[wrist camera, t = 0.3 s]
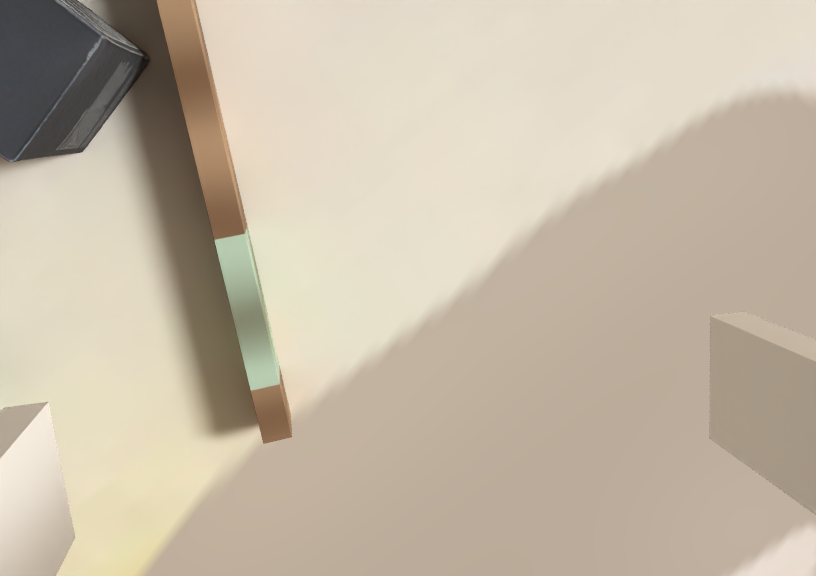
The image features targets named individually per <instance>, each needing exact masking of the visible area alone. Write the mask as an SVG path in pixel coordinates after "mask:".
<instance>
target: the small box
mask: <svg viewBox="0 0 816 576" xmlns="http://www.w3.org/2000/svg"><path fill="white" fill-rule="evenodd" d="M149 61H150V60H149V56H148V55H147V54H146V53H145V52H143V51H142V50H141V49H139V48H138V47H137V46H136V45H134V44H133V43H132V42H131V41H129V40H128V39H127V38H126V37H124V36H123V35H122V34H120V33H119V32H118V31H116V30H115V29H114V28H112V27H111V26H110V25H109V24H107V23H106V22H105V21H103V20H102V19H101V18H100V17H98V16H97V15H96V14H94V13H93V12H92V10H90V9H88V8H87V7H86V6H84V5H83V4H82V3H80V2H79V1H77V0H0V156H1V157H3V158H4V159H6V160H7V161H9V162H15V161H20V160H27V159H33V158H40V157H47V156H55V155H62V154H71V153H80V152H83V151H84V149H85V148H86V147H87V146H88V144H89V143H90V142H91V140H92V139H93V138H94V137H95V135H96V134H97V132H98V131H99V130H100V129H101V127H102V126H103V124H104V123H105V122H106V120H107V119H108V118H109V116H110V115H111V114H112V112H113V111H114V110H115V108H116V107H117V106H118V104H119V103H120V101H121V100H122V99H123V97H124V96H125V95H126V93H127V92H128V90H129V89H130V88H131V86H132V85H133V84H134V83H135V81H136V80H137V78H138V77H139V76H140V74H141V73H142V72H143V70H144V69H145V68H146V66H147V65H148V63H149Z"/></svg>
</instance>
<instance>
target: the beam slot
mask: <svg viewBox="0 0 816 576" xmlns="http://www.w3.org/2000/svg"><path fill="white" fill-rule="evenodd" d="M157 5H158V9H159V13H160V17H161V21H162V25H163V29H164V34H165V38H166V42H167V46H168V50H169V54H170V58H171V63H172V67H173V71H174V75H175V79H176V83H177V87H178V92H179V96H180V100H181V104H182V108H183V112H184V116H185V121H186V125H187V129H188V133H189V137H190V141H191V145H192V150H193V154H194V158H195V162H196V166H197V170H198V174H199V179H200V183H201V187H202V191H203V195H204V199H205V203H206V208H207V212H208V216H209V220H210V224H211V228H212V232H213V237H214V241H215V245H216V249H217V253H218V257H219V261H220V266H221V270H222V274H223V278H224V282H225V286H226V290H227V295H228V299H229V303H230V307H231V311H232V315H233V319H234V324H235V328H236V332H237V336H238V340H239V344H240V348H241V353H242V357H243V361H244V365H245V369H246V373H247V377H248V382H249V386H250V390H251V394H252V398H253V402H254V406H255V411H256V415H257V419H258V423H259V427H260V431H261V435H262V440H263V443H264V444H265V443H269V442H273V441H277V440H282V439H285V438H290V437H292V431H291V414H290V410H289V406H288V401H287V397H286V393H285V388H284V384H283V380H282V375H281V371H280V367H279V362H278V358H277V354H276V349H275V345H274V341H273V336H272V332H271V327H270V323H269V319H268V314H267V310H266V306H265V301H264V297H263V293H262V288H261V284H260V280H259V275H258V271H257V267H256V262H255V258H254V254H253V249H252V245H251V241H250V236H249V232H248V228H247V223H246V219H245V215H244V210H243V206H242V202H241V197H240V193H239V189H238V184H237V180H236V175H235V171H234V167H233V162H232V158H231V154H230V149H229V145H228V141H227V136H226V132H225V128H224V123H223V119H222V115H221V110H220V106H219V102H218V97H217V93H216V89H215V84H214V80H213V76H212V71H211V67H210V63H209V58H208V54H207V50H206V45H205V41H204V36H203V32H202V28H201V23H200V19H199V15H198V10H197V6H196V2H195V0H157Z"/></svg>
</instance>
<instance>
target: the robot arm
mask: <svg viewBox="0 0 816 576" xmlns="http://www.w3.org/2000/svg"><path fill="white" fill-rule="evenodd" d="M709 431H710V434H709V438H710V439H711V440H712V441H714V442H715V443H716V444H718V445H719V446H721V447H722V448H723V449H725V450H726V451H728V452H729V453H730V454H732V455H733V456H734V457H736V458H737V459H739V460H740V461H741V462H743V463H744V464H746V465H747V466H748V467H750V468H751V469H752V470H754V471H755V472H757V473H758V474H759V475H761V476H762V477H764V478H765V479H766V480H768V481H769V482H771V483H772V484H773V485H775V486H776V487H778V488H779V489H780V490H782V491H783V492H784V493H786V494H787V495H789V496H790V497H791V498H793V499H794V500H796V501H797V502H798V503H800V504H801V505H803V506H804V507H805V508H807V509H808V510H809V511H811V512H812V513H814V514H815V515H816V340H815V339H813V338H810V337H808V336H805V335H802V334H800V333H798V332H795V331H793V330H790V329H787V328H785V327H782V326H780V325H777V324H775V323H772V322H770V321H767V320H764V319H762V318H759V317H757V316H754V315H752V314H749V313H746V312H736V313H728V314H721V315H713V316H710V430H709ZM74 539H75V534H74V529H73V524H72V519H71V514H70V509H69V504H68V499H67V494H66V489H65V484H64V479H63V474H62V469H61V464H60V459H59V454H58V449H57V444H56V439H55V434H54V429H53V423H52V418H51V413H50V408H49V403H48V402H45V403H37V404H30V405H22V406H14V407H6V408H3V409H2V410H1V411H0V576H56V575H57V573H58V571H59V569H60V567H61V565H62V563H63V561H64V559H65V557H66V555H67V553H68V551H69V549H70V547H71V545H72V543H73V541H74Z"/></svg>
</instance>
